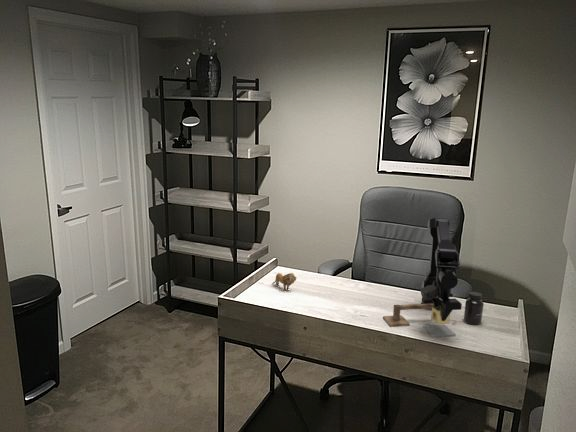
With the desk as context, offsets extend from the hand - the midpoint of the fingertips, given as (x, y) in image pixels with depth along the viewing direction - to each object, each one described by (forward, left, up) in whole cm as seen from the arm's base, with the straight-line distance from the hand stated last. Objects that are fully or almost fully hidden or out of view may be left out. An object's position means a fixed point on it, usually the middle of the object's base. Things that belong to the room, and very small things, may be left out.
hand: (440, 318), depth 183 cm
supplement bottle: (-18, -7, -6) cm, 20 cm away
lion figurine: (+53, -51, -6) cm, 74 cm away
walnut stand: (+7, -10, -6) cm, 13 cm away
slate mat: (0, 0, -6) cm, 6 cm away
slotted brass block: (0, 0, -2) cm, 2 cm away
